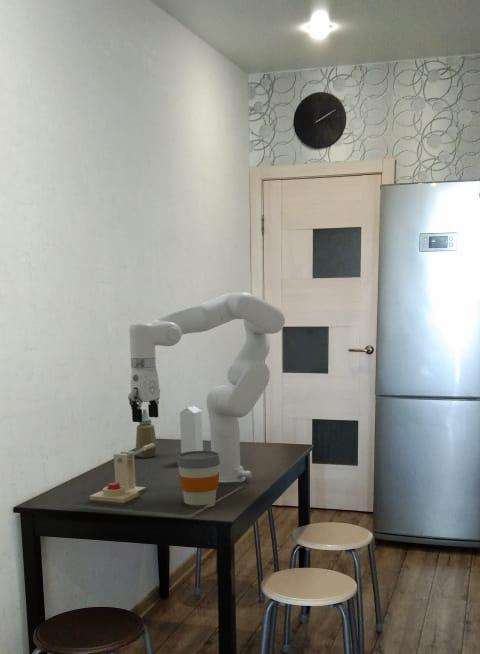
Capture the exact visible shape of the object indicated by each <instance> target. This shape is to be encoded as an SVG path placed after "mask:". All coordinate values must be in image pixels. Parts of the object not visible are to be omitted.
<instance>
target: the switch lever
mask: <svg viewBox="0 0 480 654" xmlns="http://www.w3.org/2000/svg"><path fill="white" fill-rule="evenodd" d="M154 446H155V445H154V443H151V444H148V445H146V446H143V448H141V449H139V450H135V451H132V452H133V453H131V454H129V455H128V453H126V454H127V456H128V461H129V460H131V459H130V457H132V456H134V457H135V456H136V455H138V454H139V453H141V452H143V451H146V450H148V449H151V448H154Z"/></svg>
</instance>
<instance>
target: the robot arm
mask: <svg viewBox="0 0 480 654" xmlns="http://www.w3.org/2000/svg"><path fill="white" fill-rule="evenodd" d="M234 320H243V325H244V329H245V341H244V344H243V346H242V347H241V350H239V352H238V353H237V355H236V357H235V358H234V360H233V361H232V363H231V364H230V365H229V367H228V369H227V374H226V379H227V381H228V383H230V384H231V385H226V384H219V385H216V386H213V387H212V388H211V389H210V390H209V392H208V393H207V396H206V407H207V412H208V418H209V431H210V451H213V452H217V453H218V454H219V460H220V464H219V468H218V472H219V483H234V482H237V483H244V482H245V481H246V478H249V479H251V478H252V475H253V473H252V471H251V470H245V469H244V466H243V465H241V439H240V435H241V433H240V432H241V431H240V421H239V418H244V417H246V416H247V415H248V414H249V413H250V412H251V411H252V410H253V408H254V407H255V405H256V404H257V403H258V401H259V399H260V398H261V396H262V394H263V393H264V391H265V390H266V389H267V386H268V385H269V382H270V377H271V373H270V369H269V366H268V365H267V364H266V363H265V361H266V359H267V357H268V355H269V353H270V350H271V349H270V347H271V342H270V335H272V334H277V333H279V332H280V331H282V330H283V328H284V327H285V324H286V318H285V315H284V312H283V311H282V310H281V309H280V308H278V307H277V306H275V305H273V304H271V302H270V303H269V302H268V301H266V300H264V299H262V298H260V297H258V296H256V295H254V294H252V293H250V292H247V291H246V292H245V291H239V292H238V291H233V292H227V293H224V294H222V295H220V296H217V297H214V298H212V299H210V300H207V301H205V302H202V303H200V304H197V305H194V306H190V307H187V308H184V309H181V310H178V311H174V312H171V313H169V314H166V315H163V316H160V317H158V318H156V319H153V320H152V321H150V322H135V323H131V324H130V325H129V348H130V349H129V350H130V353H129V354H130V369H131V374H130V393H129V394H128V396H127V399H128V403H129V406H130V410H131V420H132V422H133V423H139V422H142V414H143V408H141V407H142V405H143V403H149V404H148V405H147V407H148V408H147V409H148V410H147V413H148V418H155V419H156V418H159V403H160V401H159V400H160V394H161V389H160V382H159V374H158V369H157V364H156V363H157V361H156V360H157V359H156V346H161V347H173V346H175V345H177V344H179V342H180V341H181V339H182V336H183V335H187V334H196V333H197V334H198V333H202V332H207V331H210V330H213V329H214V328H215V329H216V328H218V327H219V326H222V325H224V324H226V323H229V322H232V321H234Z"/></svg>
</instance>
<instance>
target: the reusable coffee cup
mask: <svg viewBox="0 0 480 654" xmlns="http://www.w3.org/2000/svg"><path fill="white" fill-rule="evenodd" d="M176 462H177V463H176V466H177V467H178V471H179V472H178V480H179V485H180V490H181V491H182V495H183V496H182V497H183V502H184V504H186V505H189V506H203V507H202V509H207V508H211V507H214V506H215V505H216V499H217V489H218V488H219V483H220V482H219V472H218V468H219V464H220V460H219V454H218V453H217V452H213V451H211V450H203V451H190V452H184V453H181V452H180V453H179V454H178V455H177V461H176Z"/></svg>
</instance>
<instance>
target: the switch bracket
mask: <svg viewBox="0 0 480 654" xmlns="http://www.w3.org/2000/svg"><path fill="white" fill-rule="evenodd" d="M133 452H134V451H126V450H120V452H119V453H113V466H114V467H113V468H114V469H113V470H114V482H118V483H120V486H124V487H125V491H135V492H140V491H142V490H145V489H147V487H146V486H137V485H136V484H137V481H136V465H135V464H136V463H135V455H134V456H132V457H130V459H131V460H129V461H128V456H127V454H126V453H128V455H129V454H131V453H133Z"/></svg>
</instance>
